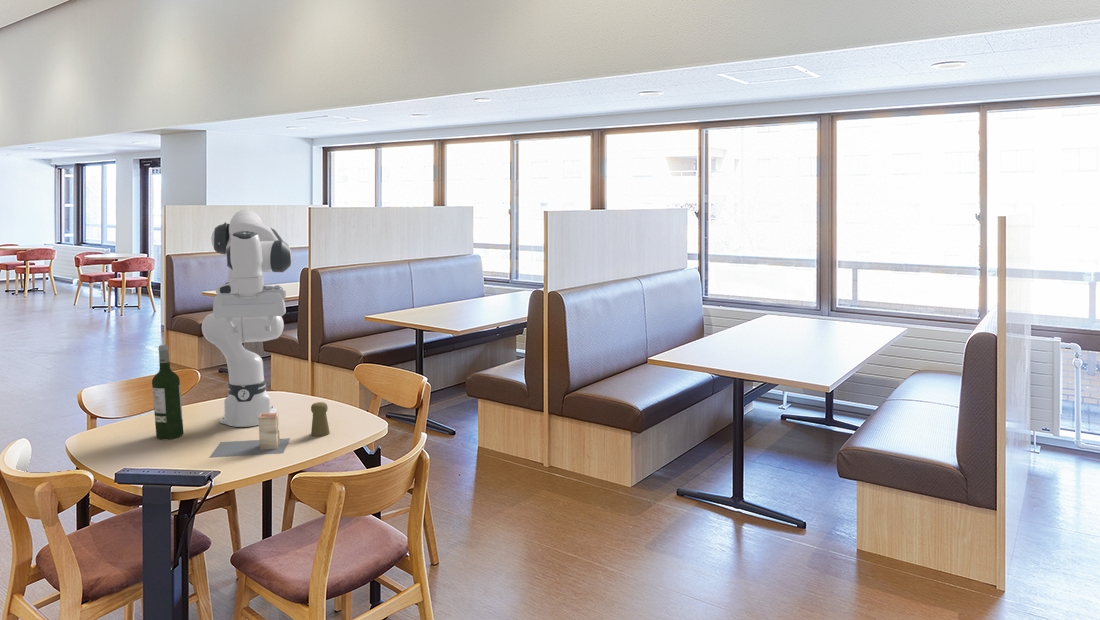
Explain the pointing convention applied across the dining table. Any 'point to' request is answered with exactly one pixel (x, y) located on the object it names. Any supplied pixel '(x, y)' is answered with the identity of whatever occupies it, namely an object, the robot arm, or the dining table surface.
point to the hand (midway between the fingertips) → (251, 331)
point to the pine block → (269, 431)
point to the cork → (319, 420)
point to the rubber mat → (246, 448)
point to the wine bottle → (167, 399)
